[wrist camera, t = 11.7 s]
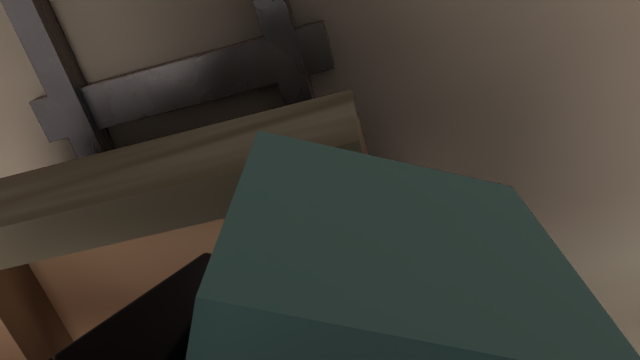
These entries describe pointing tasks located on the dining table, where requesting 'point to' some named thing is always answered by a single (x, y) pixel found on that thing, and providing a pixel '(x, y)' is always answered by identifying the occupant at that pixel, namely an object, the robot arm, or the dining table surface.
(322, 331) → the block
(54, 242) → the cart
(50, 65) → the rail
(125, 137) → the dining table surface
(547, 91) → the dining table surface
